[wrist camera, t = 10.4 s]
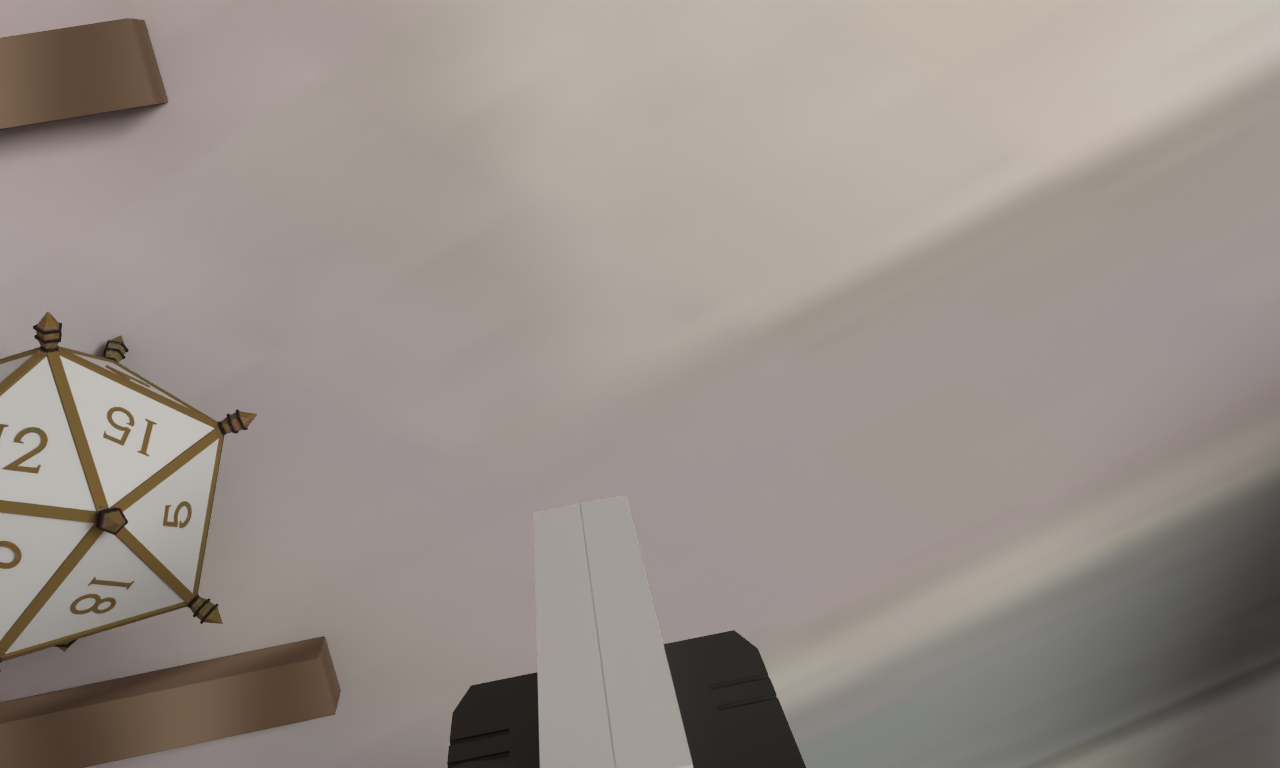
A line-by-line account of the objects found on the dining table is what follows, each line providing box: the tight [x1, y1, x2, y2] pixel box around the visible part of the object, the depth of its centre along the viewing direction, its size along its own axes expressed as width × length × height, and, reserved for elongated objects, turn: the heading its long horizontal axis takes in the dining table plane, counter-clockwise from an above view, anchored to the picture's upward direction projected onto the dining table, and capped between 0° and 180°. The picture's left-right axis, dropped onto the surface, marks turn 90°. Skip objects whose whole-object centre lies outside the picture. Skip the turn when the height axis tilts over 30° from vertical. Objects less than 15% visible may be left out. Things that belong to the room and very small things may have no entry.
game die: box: [0, 312, 257, 671], centre depth 25 cm, size 9×8×10 cm
